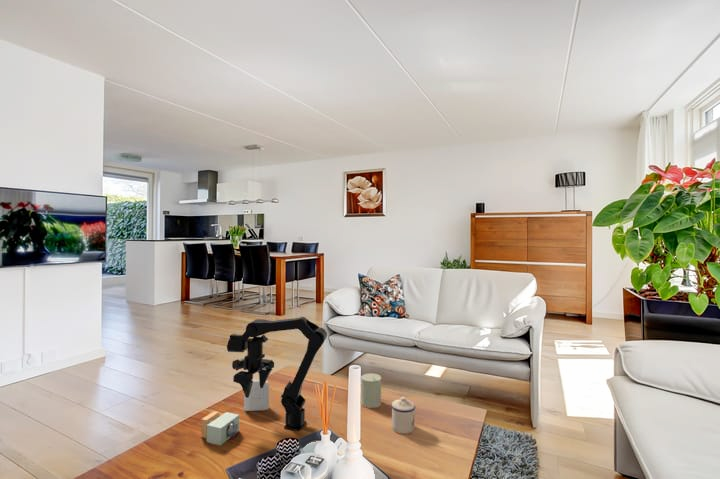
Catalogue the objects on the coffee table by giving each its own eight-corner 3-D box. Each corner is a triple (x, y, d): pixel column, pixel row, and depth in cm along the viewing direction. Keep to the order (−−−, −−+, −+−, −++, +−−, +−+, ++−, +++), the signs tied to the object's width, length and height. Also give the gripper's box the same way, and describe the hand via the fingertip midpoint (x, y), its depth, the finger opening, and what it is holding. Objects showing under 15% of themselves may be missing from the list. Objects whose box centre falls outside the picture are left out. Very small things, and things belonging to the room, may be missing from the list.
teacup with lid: (418, 433, 130) (418, 402, 130) (394, 435, 129) (394, 403, 129) (408, 417, 142) (409, 388, 142) (387, 418, 141) (387, 390, 141)
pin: (237, 433, 127) (237, 421, 128) (229, 439, 123) (229, 427, 123) (210, 427, 132) (210, 415, 132) (201, 433, 127) (201, 421, 127)
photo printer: (269, 406, 150) (270, 377, 150) (268, 410, 146) (268, 381, 146) (245, 407, 149) (245, 378, 149) (243, 412, 145) (243, 382, 145)
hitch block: (239, 430, 131) (239, 414, 131) (220, 445, 121) (220, 428, 121) (226, 427, 133) (226, 412, 133) (206, 442, 123) (206, 425, 123)
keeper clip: (218, 429, 132) (218, 412, 132) (206, 438, 125) (206, 420, 126) (213, 428, 132) (214, 411, 132) (201, 437, 126) (201, 419, 126)
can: (367, 410, 148) (367, 381, 148) (356, 401, 156) (357, 374, 156) (385, 405, 152) (385, 377, 153) (374, 396, 160) (374, 370, 160)
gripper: (252, 343, 148) (251, 380, 148) (221, 357, 130) (221, 399, 130) (275, 346, 144) (274, 384, 144) (246, 361, 126) (246, 404, 126)
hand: (254, 392), depth 136 cm, fingers open, 9 cm apart
